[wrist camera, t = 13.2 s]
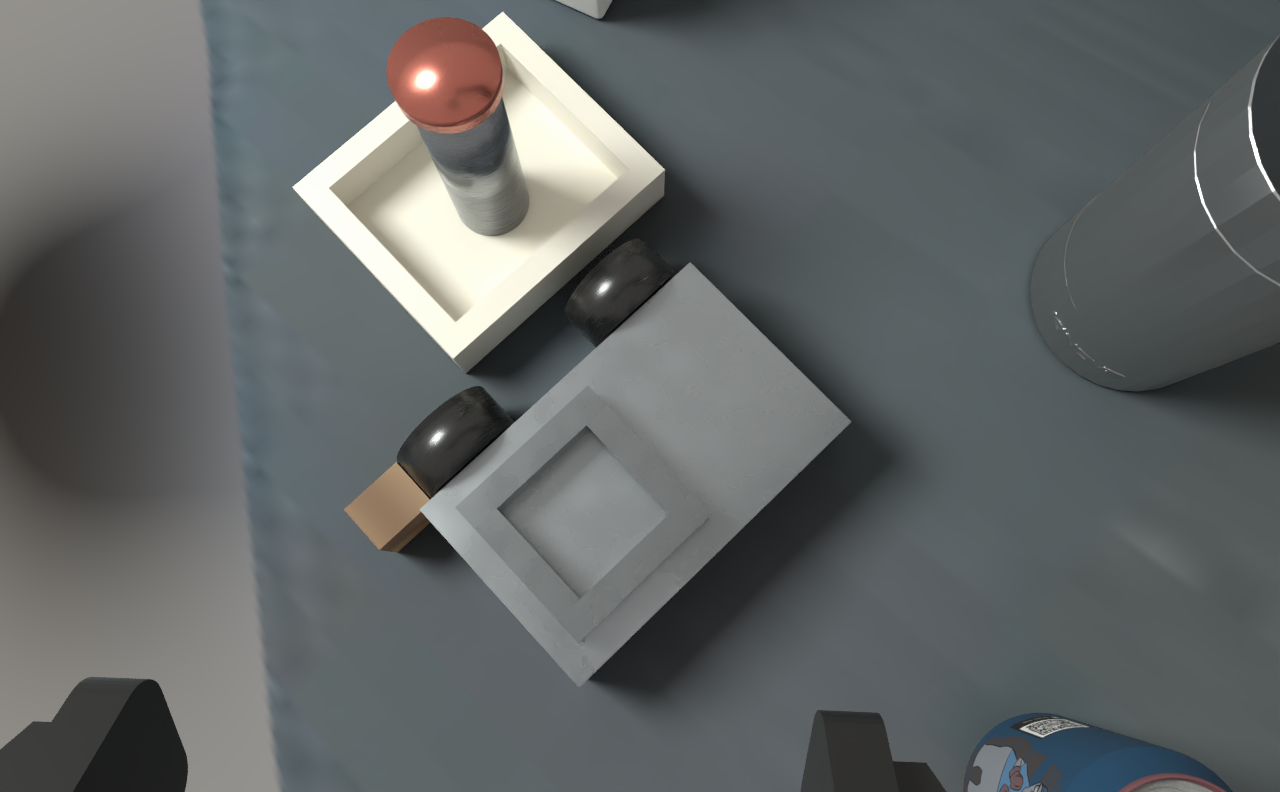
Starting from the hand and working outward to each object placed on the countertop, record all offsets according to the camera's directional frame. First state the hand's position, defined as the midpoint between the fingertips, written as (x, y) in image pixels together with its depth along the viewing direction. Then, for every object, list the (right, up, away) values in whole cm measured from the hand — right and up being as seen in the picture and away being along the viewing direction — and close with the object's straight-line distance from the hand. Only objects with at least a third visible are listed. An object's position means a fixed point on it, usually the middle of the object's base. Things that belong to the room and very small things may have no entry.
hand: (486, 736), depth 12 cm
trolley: (+1, +1, +33) cm, 33 cm away
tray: (-6, +14, +36) cm, 39 cm away
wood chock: (-9, -1, +33) cm, 34 cm away
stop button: (-5, +14, +35) cm, 38 cm away
